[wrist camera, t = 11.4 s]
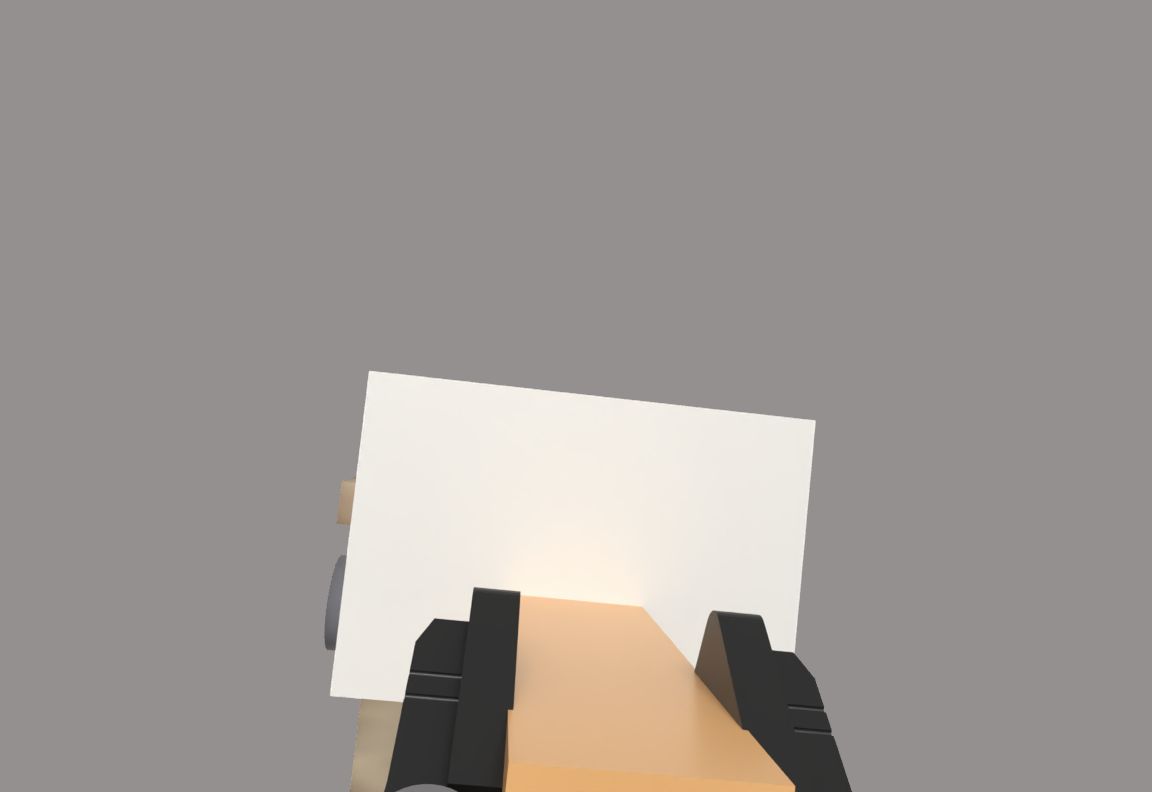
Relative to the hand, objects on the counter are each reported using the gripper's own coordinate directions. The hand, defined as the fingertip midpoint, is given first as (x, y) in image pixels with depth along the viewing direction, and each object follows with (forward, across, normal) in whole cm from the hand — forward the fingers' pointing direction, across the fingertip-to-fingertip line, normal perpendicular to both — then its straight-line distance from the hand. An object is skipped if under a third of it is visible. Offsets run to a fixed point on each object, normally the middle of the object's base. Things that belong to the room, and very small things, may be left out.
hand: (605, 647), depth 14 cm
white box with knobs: (+2, 0, +4) cm, 5 cm away
